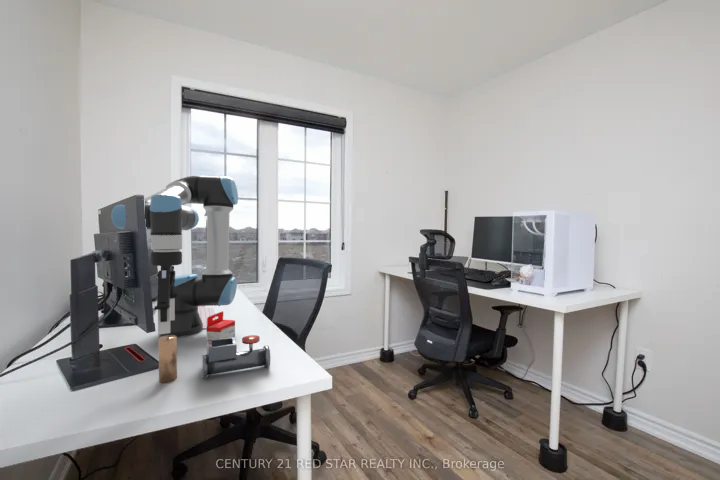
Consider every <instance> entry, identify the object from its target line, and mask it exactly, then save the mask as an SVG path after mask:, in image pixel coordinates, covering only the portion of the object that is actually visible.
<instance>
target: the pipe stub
mask: <svg viewBox="0 0 720 480" xmlns="http://www.w3.org/2000/svg"><path fill="white" fill-rule="evenodd" d="M177 339H178V337H177V336H176V335H166V336H162V335H161V336H160V337H158V342H157V345H158V346H157V347H158V382H159V383H160V384H168V383H172V382H175V381H176V380H177V379H178V348H177V347H178V341H177Z"/></svg>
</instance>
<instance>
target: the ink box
mask: <svg viewBox="0 0 720 480" xmlns="http://www.w3.org/2000/svg"><path fill="white" fill-rule="evenodd" d="M215 318H216V319H215ZM230 337H235V338H236V320H233V319H224V311H220V312H217V313H214V314H212V315H209V316H207V319H206V355H207V357H209V340H215V339H222V338H230Z"/></svg>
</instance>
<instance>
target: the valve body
mask: <svg viewBox="0 0 720 480" xmlns="http://www.w3.org/2000/svg"><path fill="white" fill-rule="evenodd" d="M259 342H260V336H259V335H257V334H256V335H255V334H251V335H250V334H249V335H246V336H243V337H242V338H241V343H242V344H243V345H249V346H248V348H249V349H248V350H245V351H237V348H238V347H237V342H236V336H235V337H230V338H222V339H215V340H209V357H207V354H202V379H203V380H204V379H208V376H213V375H218V374H223V373H229V372H235V371H240V370H246V369H252V368H258V367H264V368H265V369H266V368H270V366H271V350H270V346H269V345H263V347H262V348H257V349H253V348H254V347H253V346H254V345H255V344H257V343H259Z"/></svg>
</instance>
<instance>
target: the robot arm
mask: <svg viewBox="0 0 720 480" xmlns="http://www.w3.org/2000/svg"><path fill="white" fill-rule="evenodd" d="M237 187H238V186H237V185H236V182H235V180H234V178H232V177H230V176H222V175H219V176H218V175H190V176H185V177H182V178H179V179H176V180H173V181H172V182H169V183H168V184H167V185H166V186H165V188H164V189H161V190H160V191H157V192H156V193H154V194H151V195H149V196H148V197H145V198H143V199H144V200H145V219H146V227H147V230H149V231H150V233H149V234H150V238H148V239H147V242H148V243H150V250H151V252H150V265H151V266H153V267H155V266H156V267H160V270H158V272H157V300H156V305H155V306H154V308H153V309H154V311H157V335H161V337H162V336H166V335H176V336H177V338H179V337H186V336H191V335H195V334H197V333H200V332H202V331H203V327H204V324H203V321H202V318H201V316H200V315H201V314H200V313H199V307H205V306H206V307H209V306H210V307H211V306H212V307H214V306H218V307H220V306H229V305H231V304H232V303H233V301H234V299H235V297H236V293H237V286H238V281H237V278H236V277H235V276H233V272H232V271H231V270H230V269H229V265H230V261H229V260H230V258H229V257H230V214H231V212H232V211H233V210H234V206H236V205H238V202H239V195H238V194H239V193H238V188H237ZM187 204H188V205H189V204H196V205H197V204H198V205H199V204H200V205H202V207H203V209H204V210H205V211H206V212H207V213H206V215H207V216H206V257H205V258H206V259H205V260H206V262H205V263H206V266H205V270H204V271H203V272H202V273H201V277H199V274H197V273H190V274H182V275H181V274H180V275H178V276H177V275H176V270H175V266H179V265H182V264H183V252H182V251H181V250H182V249H183V233H182V232H183V231H189V230H192V229H194V228H195V227H196V226H197V225H198V223H199V221H200V217H199V214H198V212H197V211H196V210H195V209H194V208H192V207H190V206H188V205H187ZM110 218H111V221H112V225H113V226H114V227H116V228H117V229H119V230H125V229H124V228H125V225H126V219H127V216H126V209H125V205H123V204H116V205H115V206H114V207H113V208H112V210H111V216H110Z"/></svg>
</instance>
